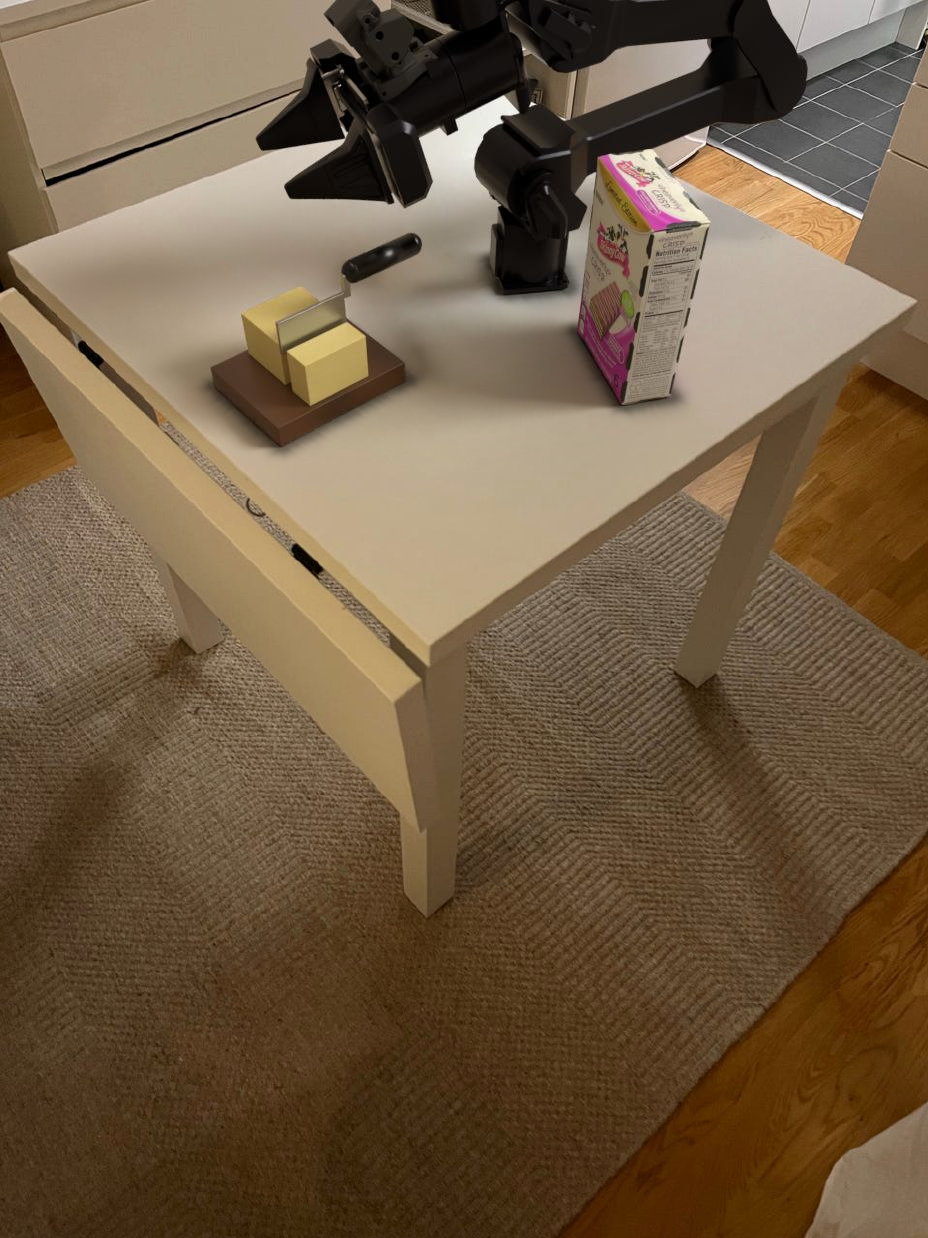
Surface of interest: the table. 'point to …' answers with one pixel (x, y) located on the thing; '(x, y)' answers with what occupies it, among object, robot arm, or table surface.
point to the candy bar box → (639, 273)
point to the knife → (343, 292)
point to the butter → (305, 349)
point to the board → (284, 408)
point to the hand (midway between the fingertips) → (271, 167)
